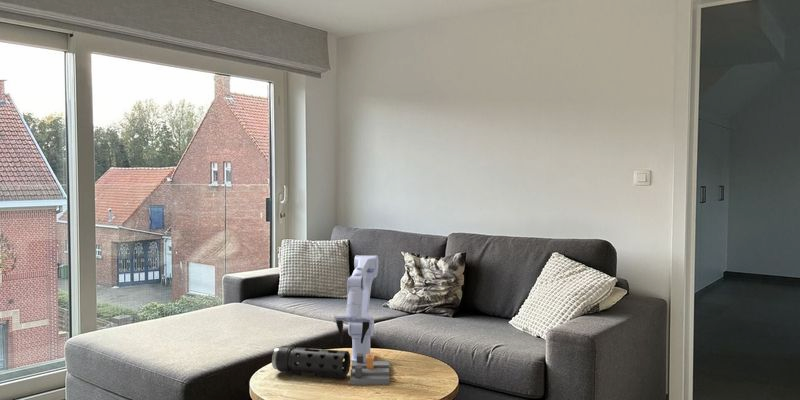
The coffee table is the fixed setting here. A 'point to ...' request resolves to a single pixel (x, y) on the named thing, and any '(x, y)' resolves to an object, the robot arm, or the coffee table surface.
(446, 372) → the coffee table surface
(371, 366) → the handle
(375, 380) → the box
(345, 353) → the muzzle brake
